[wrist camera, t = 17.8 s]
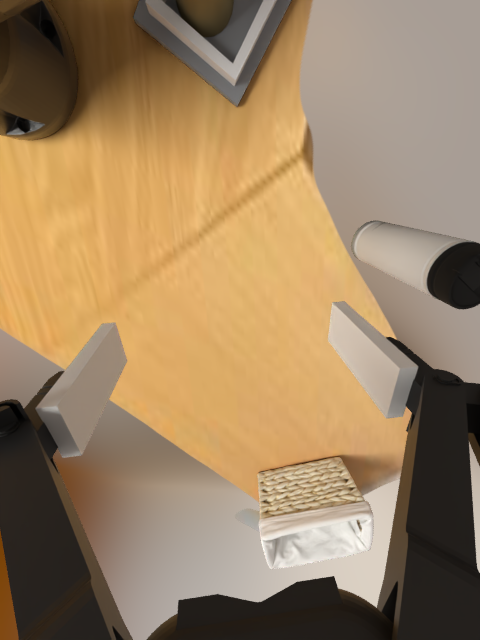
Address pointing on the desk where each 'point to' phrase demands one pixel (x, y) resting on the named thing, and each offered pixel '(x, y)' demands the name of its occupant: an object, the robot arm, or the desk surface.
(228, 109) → the desk surface
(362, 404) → the desk surface
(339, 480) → the storage basket
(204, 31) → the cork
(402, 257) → the travel mug
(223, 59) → the grey square tray
